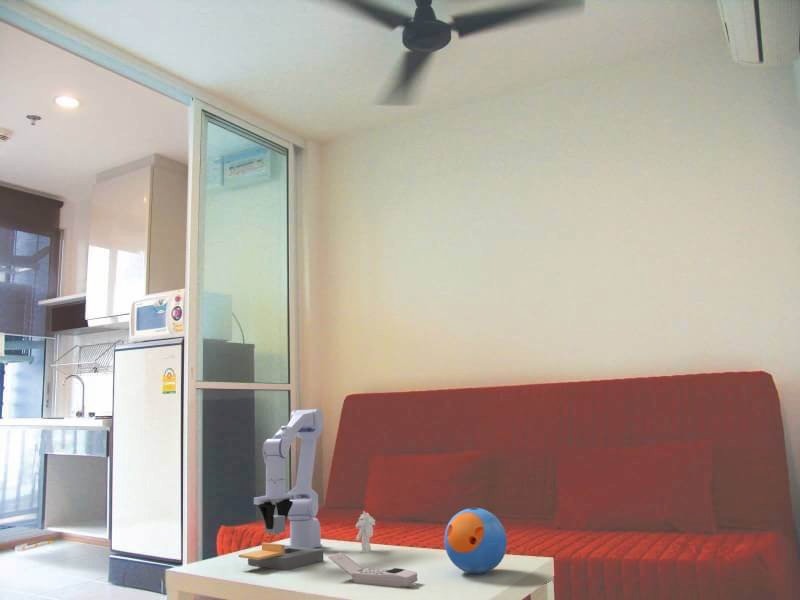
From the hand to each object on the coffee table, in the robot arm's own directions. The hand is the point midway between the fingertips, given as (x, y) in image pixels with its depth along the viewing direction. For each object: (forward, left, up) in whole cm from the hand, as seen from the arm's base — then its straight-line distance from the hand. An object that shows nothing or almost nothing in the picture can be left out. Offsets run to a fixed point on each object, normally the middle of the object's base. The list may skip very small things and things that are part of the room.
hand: (275, 527), depth 187 cm
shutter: (+9, +5, -6) cm, 12 cm away
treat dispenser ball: (-13, +60, -9) cm, 62 cm away
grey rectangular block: (0, 0, -2) cm, 2 cm away
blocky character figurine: (-23, +14, -9) cm, 29 cm away
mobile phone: (+6, +44, -9) cm, 45 cm away
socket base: (+1, +5, -9) cm, 11 cm away
